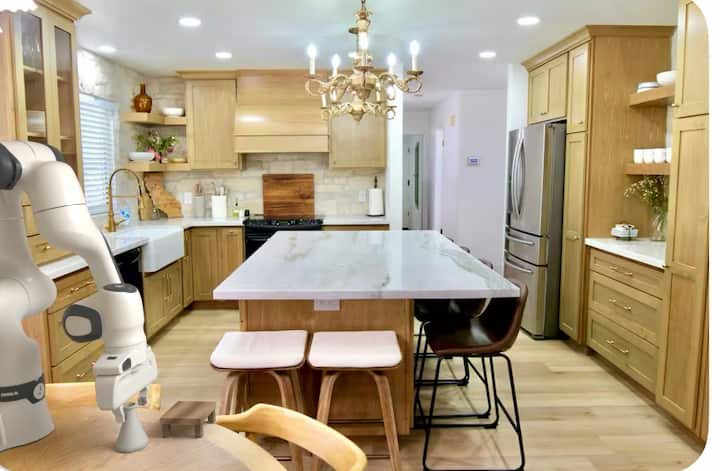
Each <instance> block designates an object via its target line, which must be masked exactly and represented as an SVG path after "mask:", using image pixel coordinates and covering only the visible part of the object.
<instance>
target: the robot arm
mask: <svg viewBox="0 0 720 471" xmlns="http://www.w3.org/2000/svg"><path fill="white" fill-rule="evenodd" d="M24 194H26V195H27V197H28V201H29V203H30V208H31V212H32V215H33V216H32V217H33V219H34V223H35V227H36V229H37V231H38V234H39V236H40V237H41V239H42V240H43V241H44V242H46V243H47V244H48V245H50V246H51V247H54V248H56V249H59V250H62V251H67V252H70V253H73V254H75V255H77V256H79V257H81V259H83V260H84V261H85V263H86V264H87V266H88V267H89V268H88V269H89V270H90V273H91V276H92V278H93V280H94V283H95V285H96V288H97V292H96V293H94V294H92V295H91V296H89V297H87V298H84V299H82V300H79V301H76V302H74V303H72V304H70V305H69V306H67V307H66V308H65V310H64V311H63V314H62V318H61V324H62V329H63V331H64V333H65V335H66V337H67V338H69V339H70V340H71V341H72V342H75V343H78V344H83V343H86V344H87V343H91V342H94V341H98V340H99V341H103V346H104V351H103V352H102V353H101V355H100V356H99V358H98V359H97V360H96V362H95V363H94V364H93V365H92V374H93V375H94V376H96V377H95V382H94V391H95V397H96V398H95V399H96V403H97V407H98V408H99V410H101V411H103V412H104V411H105V412H107V411H111V412H112V414H113V415H114V417H115V422H116V424H122V423H124V422H125V421H126V420H127V414H126V413H124V412H123V404H125V403H127V401H129V400H130V399H131V398H133V397H134V396H136V395H137V394H138V393H139V394H138V398H137V404H138V405H137V406H140V407H143V406H146V405H147V404H149V399H148V397H149V392H150V389H151V388H150V384H151V383H153V382H154V381H155V380H157V378H158V373H159V372H158V365H157V364H158V363H157V360H156V355H155V353H154V352H153V351H152V346H150V345H149V344H148V343H147V336H146V333H145V331H144V324H145V313H144V306H143V301H142V297H141V294H140V291H139V289H138V288H137V286H134V285H132V284H131V283H130V284H129V283H126V282H124V279H123V276H122V274H121V272H120V271H121V270H120V269H119V266H118V264H117V261H116V259H115V256H114V253H113V251H112V248H111V246H110V244H109V242H108V240H107V238H106V236H105V235H104V234H103V232H102V231H101V230H99V228H98V227H97V225H96V223H95V221H94V220H93V217H92V216H91V213H90V210H89V209H88V204H87V200H86V198H85V197H86V196H85V195H84V192H83V189H82V186H81V184H80V182H79V180H78V177H77V175H76V173H75V171H74V169H73V168H72V167H71V166H70V165H69V164H68V163H66V160H65V157H64V155H63V153H62V152H61V151H60V149H58V148H57V147H55V146H53V145H51V144H49V143H45V142H43V141H42V142H41V141H38V142H35V141H30V140H22V139H20V140H19V139H13V140H0V452H2V451H5V450H9V449H11V448H15V447H20V446H23V445H27V444H30V443H34V442H36V441H38V440H40V439H42V438H43V439H44V438H45V437H47V436H48V435H49V434H51V433H52V432H53V431H54V430H55V427H56V425H55V423H54V420H53V419H52V416H51V413H50V411H49V406H48V404H47V400H46V399H47V398H46V379H45V373H44V372H43V370H42V369H43V368H42V358H41V357H42V356H41V347H40V344H39V342H38V341H37V340H36V339H34V338H31V337H29V336H27V335H26V333H25V331H24V329H23V328H24V327H23V325H22V321H23V320H25V319H28V318H31V317H35V316H37V315H40V314H41V313H42V312H44V311H46V310H47V309H48V308H50V307H51V306H52V305H53V304H54V303H55V301H56V299H57V292H58V291H57V285H56V284H55V282H54V281H53V279H52V277H50V276H48V275H47V274H45V273H44V272H42V270H41V269H40V268H39V267H38V265H37V264H36V262H35V259H34V257H33V255H32V252H31V250H30V246H29V242H28V236H27V229H26V223H25V216H24V215H25V214H24V211H23V205H22V203H23V202H22V199H23V198H22V197H23V195H24Z"/></svg>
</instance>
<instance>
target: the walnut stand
mask: <svg viewBox="0 0 720 471" xmlns="http://www.w3.org/2000/svg"><path fill="white" fill-rule="evenodd" d="M216 408H217V402H216V401H207V400H206V401H205V400H204V401H201V400H200V401H199V400H191V401H190V400H177V402H175V403H174V404H173V405H172V406H171V407H170V408H169V409H168V410H167V411H166V412H165V413H164V414H162V415H161V416H160V417H159V424H160V425H161V432H162V438H163V439H169V438H170V437H171V436H172V425H185V426H187V425H189V426H192V425H193V430H194V431H193V432H194V439H197V438H201V439H202V438H203V437H204V422H205V421H206V420H207V424H210V425H211V424H212V425H213V424H215V423H216V421H217V419H216V417H217V416H216ZM202 436H203V437H202Z"/></svg>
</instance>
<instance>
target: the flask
mask: <svg viewBox="0 0 720 471" xmlns="http://www.w3.org/2000/svg"><path fill="white" fill-rule="evenodd" d="M138 406H139V405H138V402H136V401H129V402H125V403H124V404H123V408H122V410H123V412H124V413H126V414H127V420H126V421H125V422H124V423H121V426H120V430H119V432H118V436H117V439H116V442H115V446H114V449H115V450H116V451H117V452H119V453H131V454H132V453H134V452H137V451H139V450H141V449H144V448H145V447H146V446H147V445H149V443H151V441H150V439H149V437H148V435H147V433H146V431H145V430H144V428H143V425H142V423H141V421H140V419H139V415H138V412H137V407H138Z"/></svg>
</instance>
